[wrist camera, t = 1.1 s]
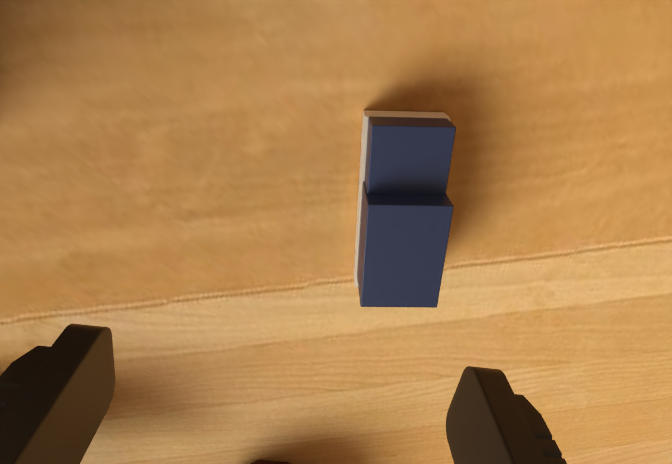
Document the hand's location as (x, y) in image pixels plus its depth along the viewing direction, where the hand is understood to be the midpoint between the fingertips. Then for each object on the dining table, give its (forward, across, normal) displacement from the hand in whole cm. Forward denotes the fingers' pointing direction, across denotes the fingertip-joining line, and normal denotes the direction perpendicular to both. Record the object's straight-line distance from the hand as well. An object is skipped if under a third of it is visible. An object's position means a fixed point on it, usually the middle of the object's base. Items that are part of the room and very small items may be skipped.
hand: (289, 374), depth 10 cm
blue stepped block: (+20, -6, +4) cm, 21 cm away
